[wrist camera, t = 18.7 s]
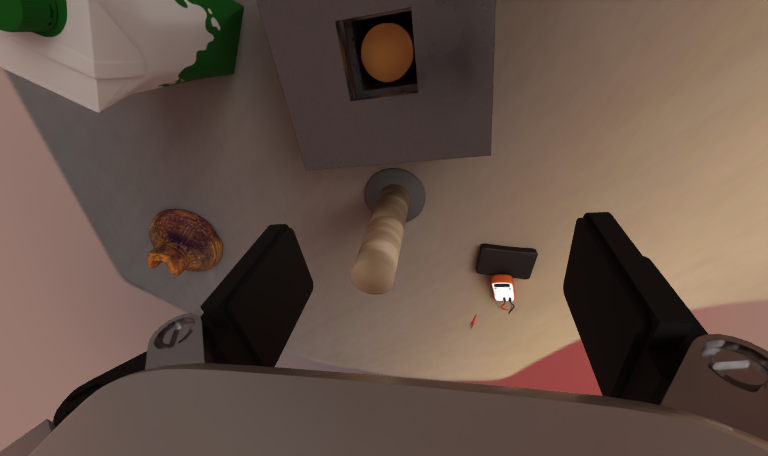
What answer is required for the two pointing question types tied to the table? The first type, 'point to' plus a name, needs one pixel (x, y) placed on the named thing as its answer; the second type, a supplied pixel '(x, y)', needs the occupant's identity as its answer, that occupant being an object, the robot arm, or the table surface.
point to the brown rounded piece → (183, 242)
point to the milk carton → (117, 44)
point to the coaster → (401, 179)
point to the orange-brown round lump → (388, 51)
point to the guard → (385, 100)
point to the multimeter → (505, 268)
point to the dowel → (382, 242)
